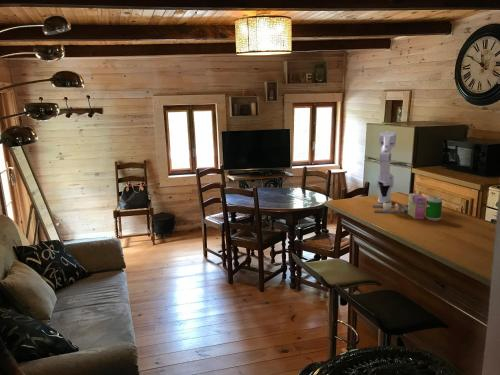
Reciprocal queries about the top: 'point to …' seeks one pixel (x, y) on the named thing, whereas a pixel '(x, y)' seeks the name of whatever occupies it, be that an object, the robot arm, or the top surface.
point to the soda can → (434, 208)
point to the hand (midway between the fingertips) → (383, 195)
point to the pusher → (396, 207)
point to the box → (416, 206)
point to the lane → (392, 211)
